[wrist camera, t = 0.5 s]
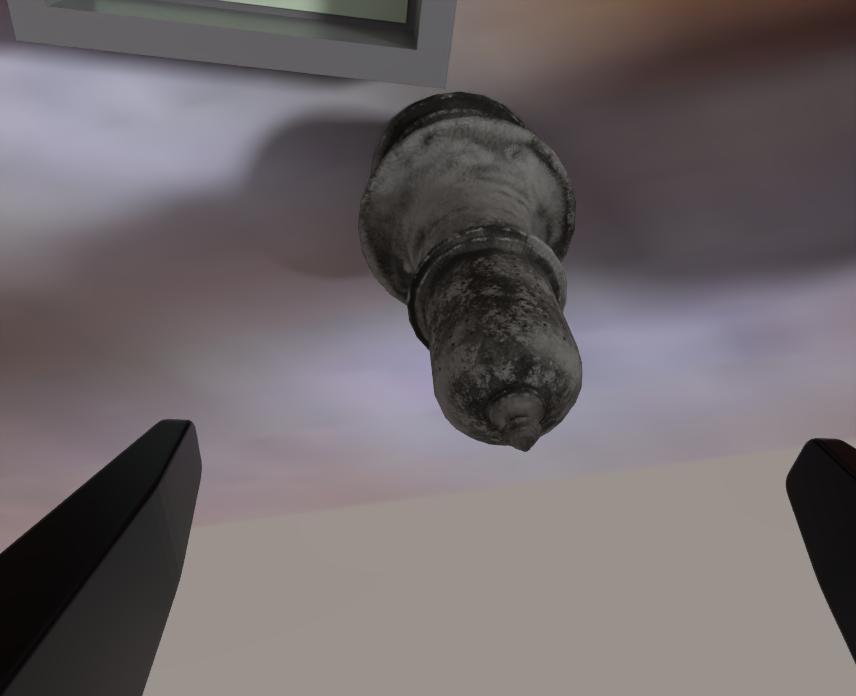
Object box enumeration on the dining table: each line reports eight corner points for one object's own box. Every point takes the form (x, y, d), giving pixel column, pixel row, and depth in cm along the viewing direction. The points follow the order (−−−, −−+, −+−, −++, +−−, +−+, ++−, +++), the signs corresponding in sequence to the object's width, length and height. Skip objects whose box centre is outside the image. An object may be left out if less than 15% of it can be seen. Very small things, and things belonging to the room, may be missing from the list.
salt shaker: (561, 83, 19) (760, 292, 9) (534, 263, 22) (658, 557, 12) (358, 78, 18) (335, 293, 9) (363, 263, 22) (350, 567, 12)
